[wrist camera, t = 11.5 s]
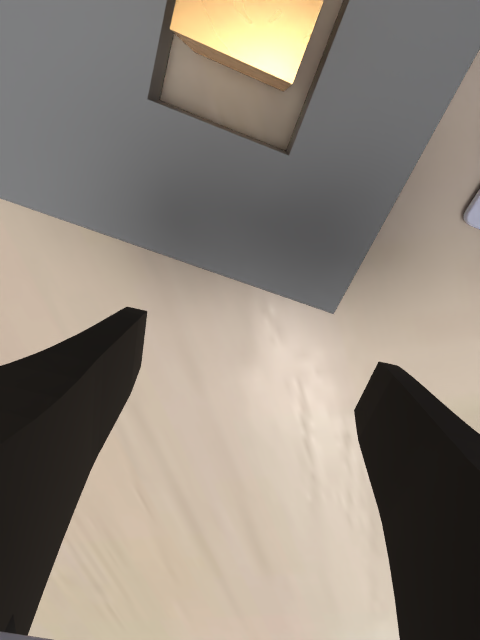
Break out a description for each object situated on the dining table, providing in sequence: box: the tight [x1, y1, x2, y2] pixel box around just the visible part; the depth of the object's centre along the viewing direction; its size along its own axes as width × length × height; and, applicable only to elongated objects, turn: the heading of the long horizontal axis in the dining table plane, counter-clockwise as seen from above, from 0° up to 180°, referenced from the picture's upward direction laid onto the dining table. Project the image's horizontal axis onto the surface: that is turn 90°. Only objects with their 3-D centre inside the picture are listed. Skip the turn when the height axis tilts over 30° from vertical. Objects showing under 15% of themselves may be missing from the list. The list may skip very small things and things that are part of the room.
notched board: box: [0, 0, 480, 314], centre depth 15 cm, size 18×14×2 cm
